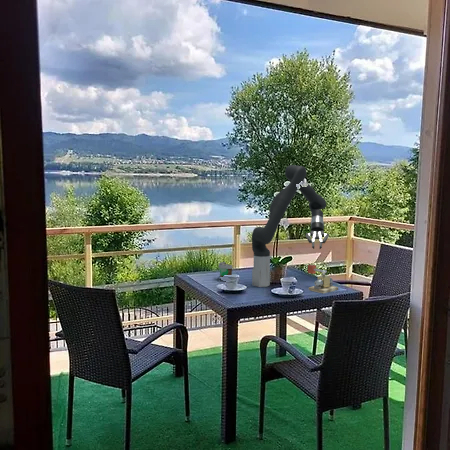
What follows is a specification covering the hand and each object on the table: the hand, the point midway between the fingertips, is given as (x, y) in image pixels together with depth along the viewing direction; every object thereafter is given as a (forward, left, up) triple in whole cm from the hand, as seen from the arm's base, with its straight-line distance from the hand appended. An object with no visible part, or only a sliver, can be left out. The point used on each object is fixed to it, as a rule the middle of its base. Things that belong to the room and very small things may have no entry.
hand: (317, 247), depth 277 cm
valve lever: (-11, -10, -13) cm, 20 cm away
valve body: (-11, -14, -19) cm, 26 cm away
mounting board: (-11, -14, -20) cm, 27 cm away
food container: (-38, +39, -21) cm, 58 cm away
